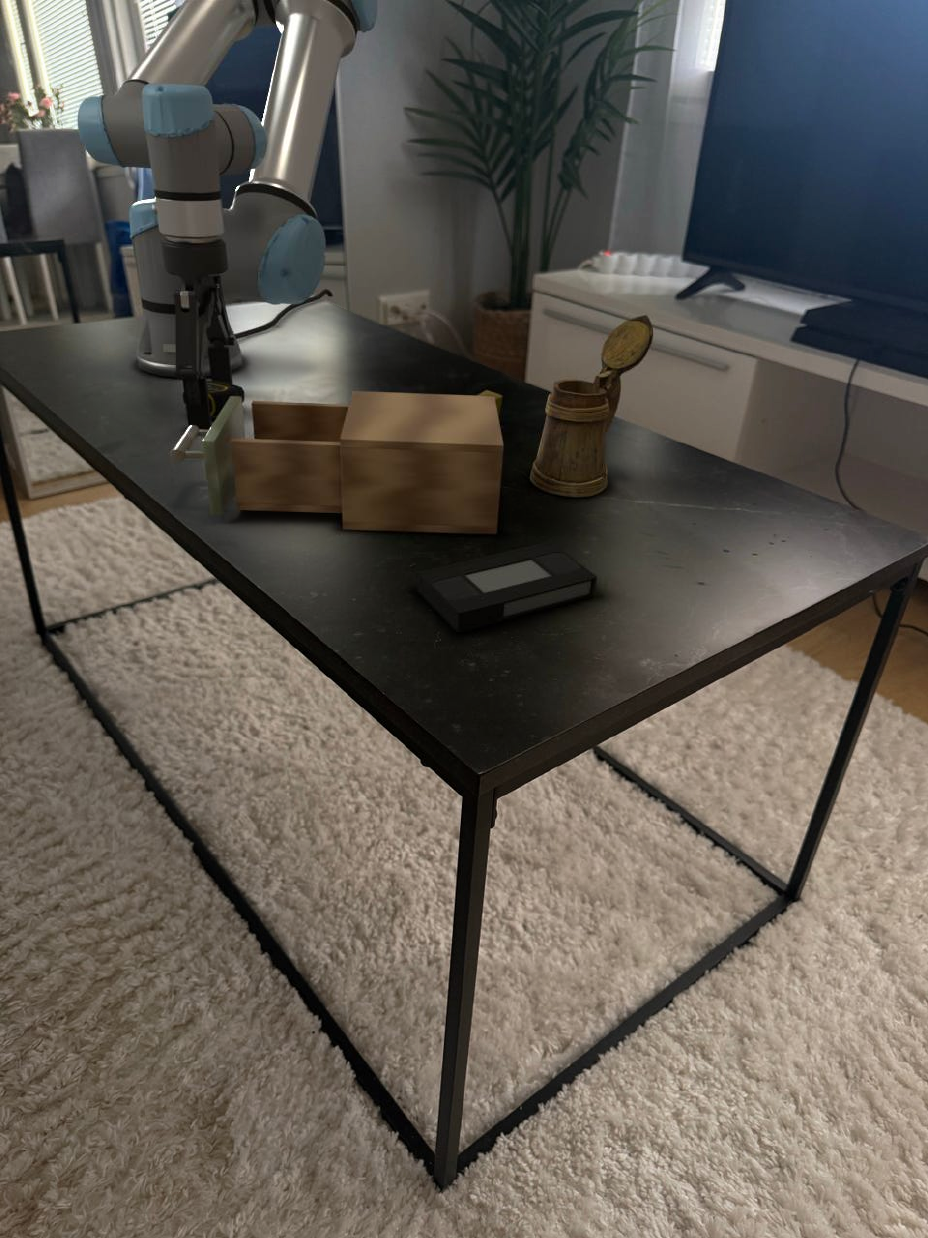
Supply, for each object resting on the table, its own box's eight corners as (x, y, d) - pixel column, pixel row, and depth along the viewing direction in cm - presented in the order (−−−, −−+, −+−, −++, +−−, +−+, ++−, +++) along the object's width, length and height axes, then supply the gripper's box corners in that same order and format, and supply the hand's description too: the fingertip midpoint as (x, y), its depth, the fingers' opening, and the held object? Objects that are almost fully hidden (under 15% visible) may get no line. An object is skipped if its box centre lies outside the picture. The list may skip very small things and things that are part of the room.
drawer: (168, 513, 84) (156, 439, 79) (199, 461, 95) (191, 394, 91) (356, 519, 85) (354, 446, 80) (365, 467, 96) (364, 400, 92)
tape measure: (248, 408, 113) (245, 381, 111) (224, 425, 107) (221, 396, 105) (202, 402, 114) (198, 375, 112) (176, 418, 108) (172, 389, 106)
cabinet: (342, 529, 84) (340, 439, 79) (354, 472, 97) (352, 390, 92) (496, 534, 85) (503, 445, 80) (488, 477, 98) (494, 396, 92)
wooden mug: (650, 479, 99) (678, 323, 89) (565, 504, 92) (586, 337, 83) (598, 455, 105) (619, 306, 95) (514, 475, 98) (528, 317, 88)
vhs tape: (595, 596, 76) (598, 577, 75) (458, 633, 70) (459, 613, 69) (548, 559, 81) (550, 541, 80) (417, 591, 75) (417, 572, 74)
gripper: (186, 220, 110) (205, 381, 121) (128, 253, 89) (157, 443, 100) (244, 223, 110) (257, 383, 122) (200, 256, 89) (220, 446, 101)
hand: (212, 411), depth 111 cm, fingers open, 13 cm apart
